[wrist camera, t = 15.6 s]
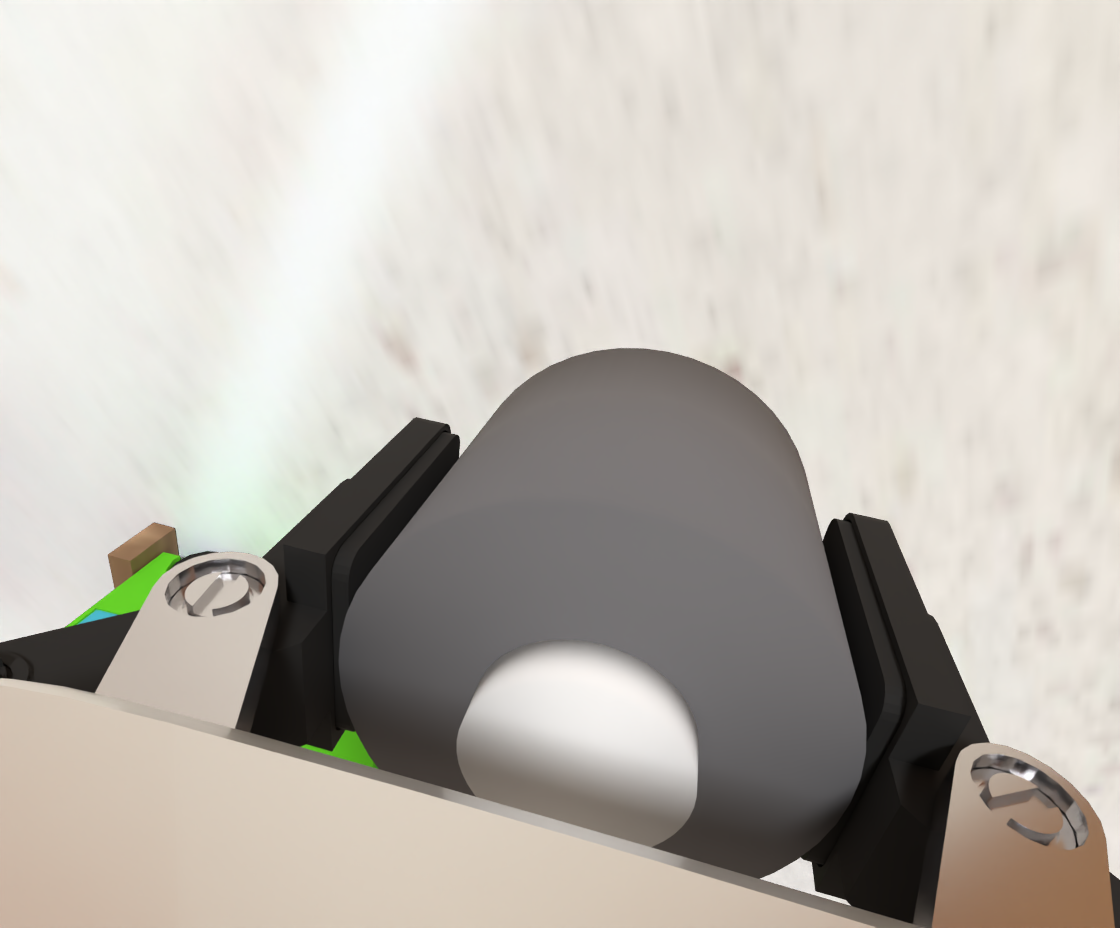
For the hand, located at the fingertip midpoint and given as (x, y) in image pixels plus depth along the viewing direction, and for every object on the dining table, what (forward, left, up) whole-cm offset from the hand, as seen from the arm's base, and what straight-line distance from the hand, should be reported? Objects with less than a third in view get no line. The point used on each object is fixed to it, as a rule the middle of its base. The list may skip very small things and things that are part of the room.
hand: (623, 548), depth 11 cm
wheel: (0, 0, -1) cm, 1 cm away
